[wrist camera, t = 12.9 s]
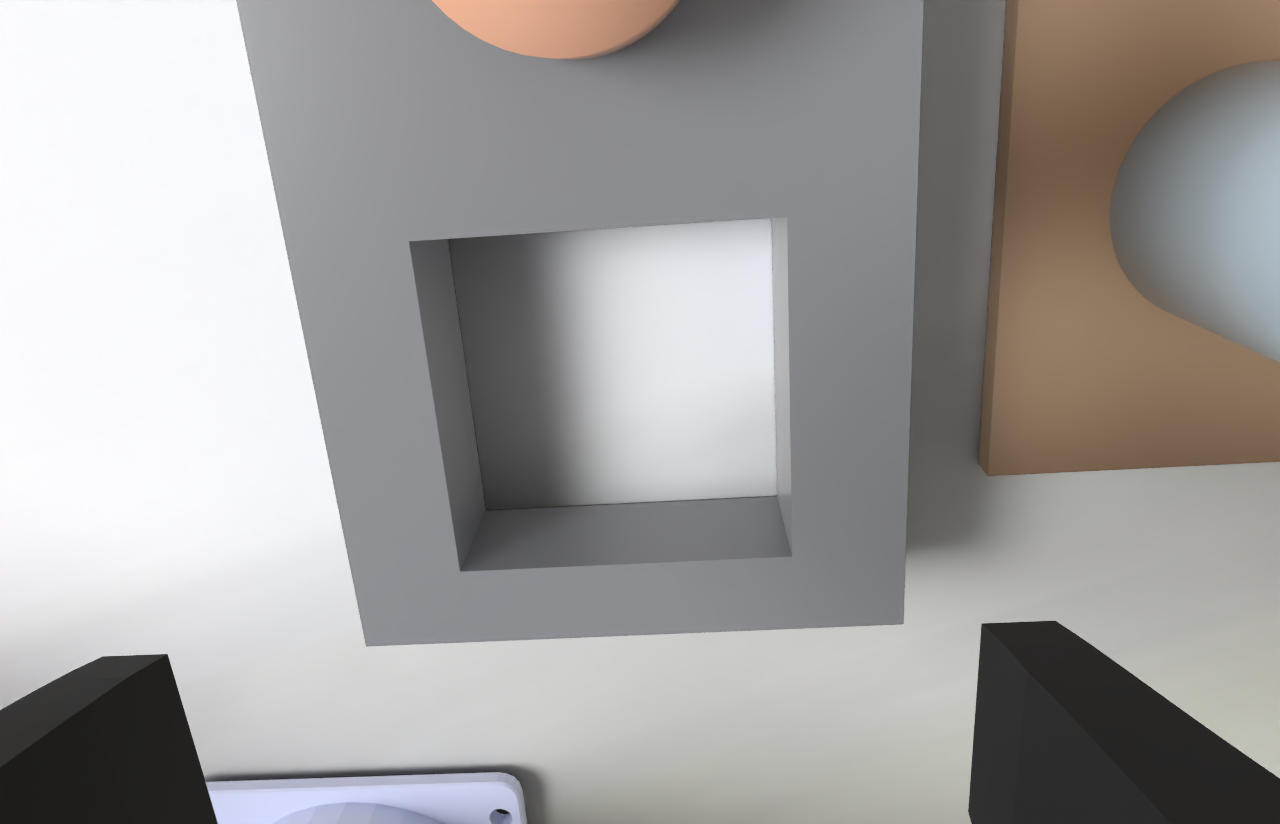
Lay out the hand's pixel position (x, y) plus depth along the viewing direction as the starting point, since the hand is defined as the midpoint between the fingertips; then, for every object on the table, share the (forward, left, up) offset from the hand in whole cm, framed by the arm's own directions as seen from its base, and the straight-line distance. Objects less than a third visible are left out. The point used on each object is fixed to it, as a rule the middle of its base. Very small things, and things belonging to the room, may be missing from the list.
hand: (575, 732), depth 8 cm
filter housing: (+4, 0, -10) cm, 11 cm away
